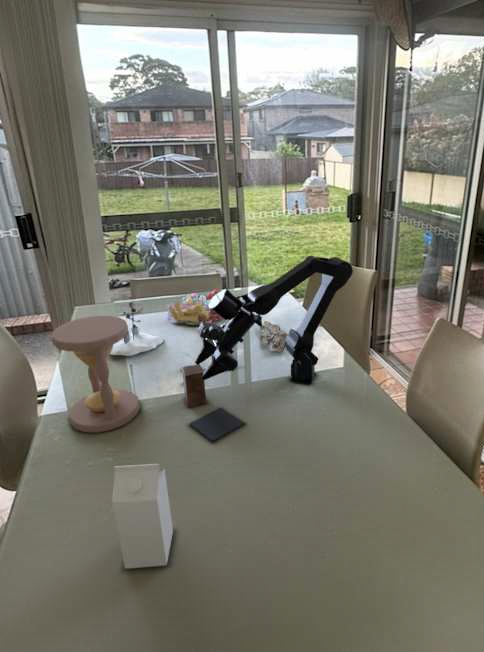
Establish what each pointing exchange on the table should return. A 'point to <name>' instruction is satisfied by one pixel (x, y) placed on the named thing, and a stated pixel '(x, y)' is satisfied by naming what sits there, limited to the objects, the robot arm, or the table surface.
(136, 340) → the figurine
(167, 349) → the table surface
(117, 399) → the hourglass
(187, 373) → the walnut block
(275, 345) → the pale grey lumpy piece
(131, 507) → the milk carton
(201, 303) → the yellow pink lumpy heap
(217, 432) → the coaster mat
